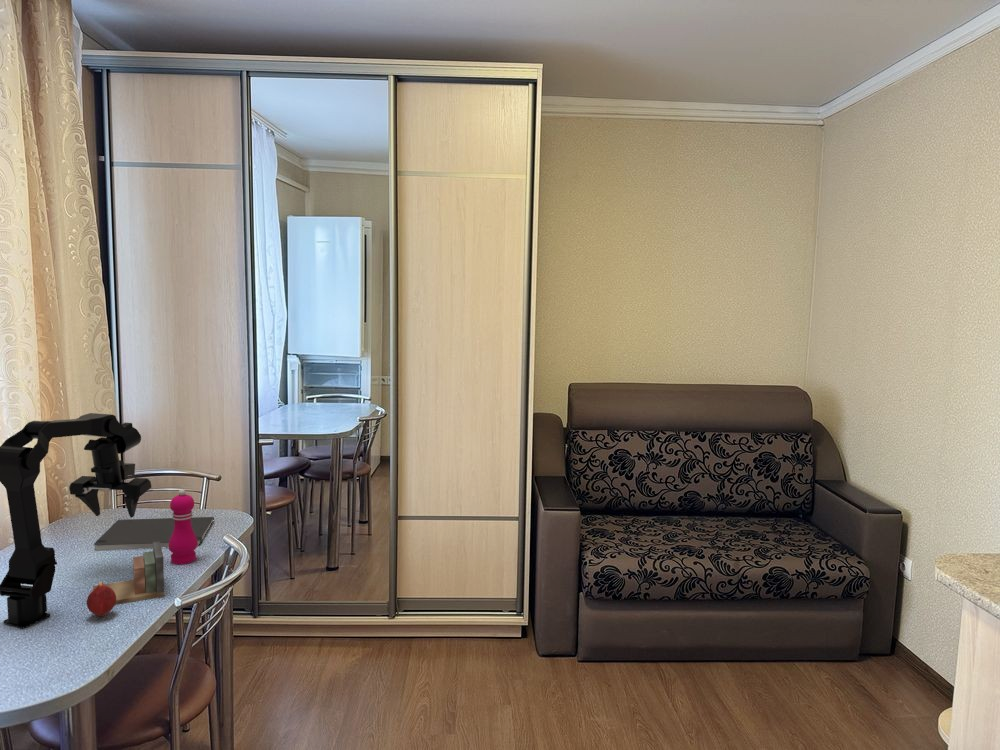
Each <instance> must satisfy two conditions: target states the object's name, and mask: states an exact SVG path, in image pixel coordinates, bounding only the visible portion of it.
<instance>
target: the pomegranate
mask: <svg viewBox="0 0 1000 750" xmlns="http://www.w3.org/2000/svg"><path fill="white" fill-rule="evenodd" d="M104 584H105V583H104V582H102V581H99V582H98V584H97V585H98V587H96V588H95V589H94V590H93V589H92V590H91V592H90V593H89V594H88V596H87V598H86V606H87V609H88V610H89V612H90V613H92V614H93V615H96V616H98V617H105V616H106V614H108V613H109V612H111V610H112V609H113V608H114V607H115V603H116V594H115V592H114V591H113V590H112V589H111V588H110V587H108V586H105V585H104Z"/></svg>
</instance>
